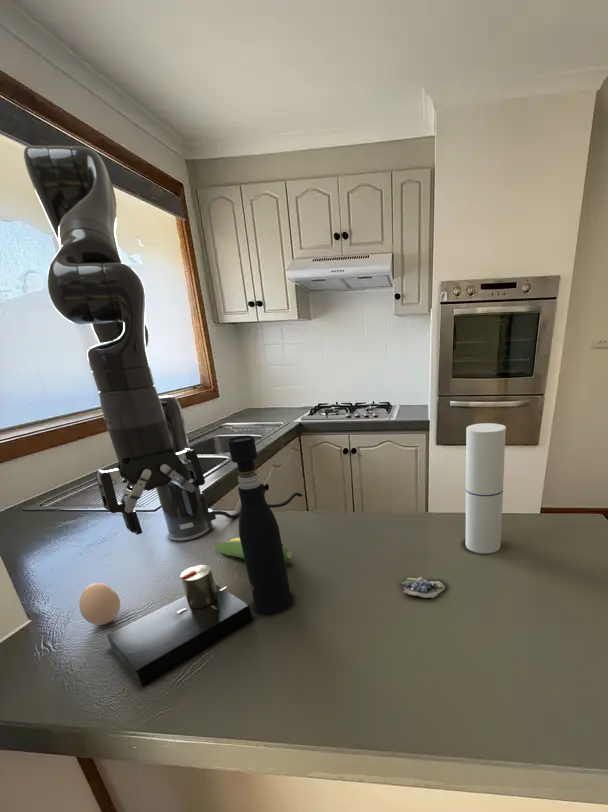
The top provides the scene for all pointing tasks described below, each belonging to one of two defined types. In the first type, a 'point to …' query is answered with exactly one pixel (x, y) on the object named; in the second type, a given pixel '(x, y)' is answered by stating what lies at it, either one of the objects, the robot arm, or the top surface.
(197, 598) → the stove knob
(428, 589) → the blueberries
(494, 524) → the cylindrical container
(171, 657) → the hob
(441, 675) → the top surface
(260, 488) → the dark water bottle
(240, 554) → the edible corn
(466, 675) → the top surface
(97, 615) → the egg
